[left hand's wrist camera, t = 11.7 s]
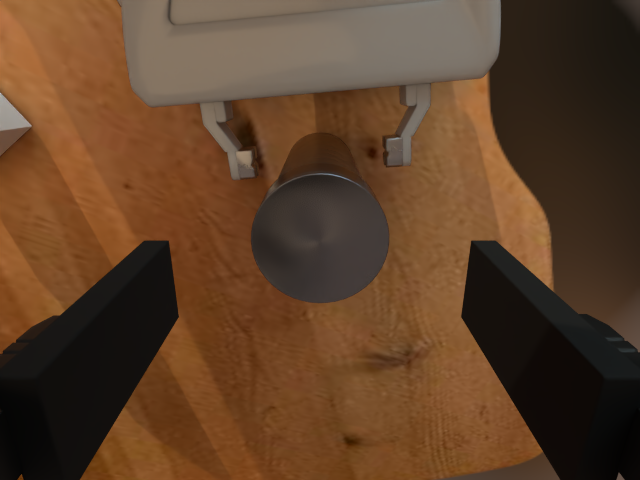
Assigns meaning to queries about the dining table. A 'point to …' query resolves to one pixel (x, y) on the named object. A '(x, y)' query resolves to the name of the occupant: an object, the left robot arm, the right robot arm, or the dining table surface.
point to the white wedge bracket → (10, 124)
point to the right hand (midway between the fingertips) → (321, 171)
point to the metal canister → (320, 233)
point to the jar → (320, 153)
